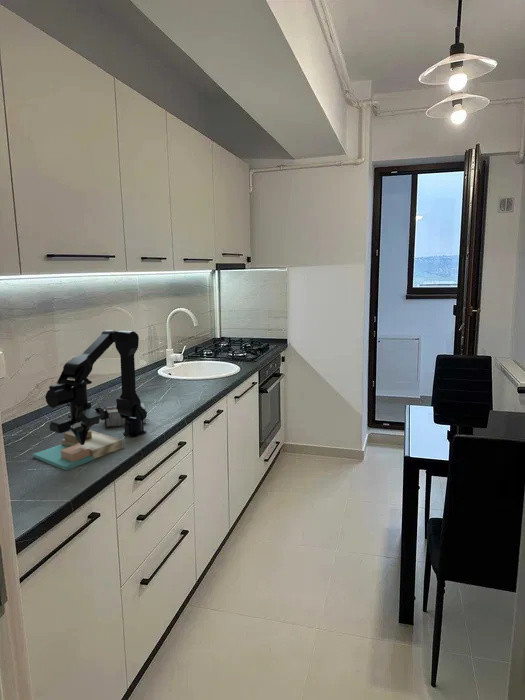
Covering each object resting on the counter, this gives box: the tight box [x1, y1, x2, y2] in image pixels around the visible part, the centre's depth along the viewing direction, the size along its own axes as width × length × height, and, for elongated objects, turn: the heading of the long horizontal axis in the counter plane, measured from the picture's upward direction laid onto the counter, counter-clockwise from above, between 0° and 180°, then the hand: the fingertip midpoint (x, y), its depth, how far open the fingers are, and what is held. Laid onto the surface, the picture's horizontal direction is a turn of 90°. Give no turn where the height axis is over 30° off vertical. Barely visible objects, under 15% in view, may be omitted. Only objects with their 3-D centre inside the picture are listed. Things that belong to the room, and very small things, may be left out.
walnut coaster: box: [63, 430, 92, 443], centre depth 167 cm, size 6×6×2 cm
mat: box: [32, 444, 94, 471], centre depth 157 cm, size 10×19×1 cm, turn 54°
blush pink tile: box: [61, 444, 90, 462], centre depth 156 cm, size 6×6×2 cm
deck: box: [61, 429, 124, 460], centre depth 166 cm, size 12×18×3 cm, turn 54°
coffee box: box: [103, 402, 147, 428], centre depth 193 cm, size 9×6×16 cm
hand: (82, 444), depth 157 cm, fingers closed
